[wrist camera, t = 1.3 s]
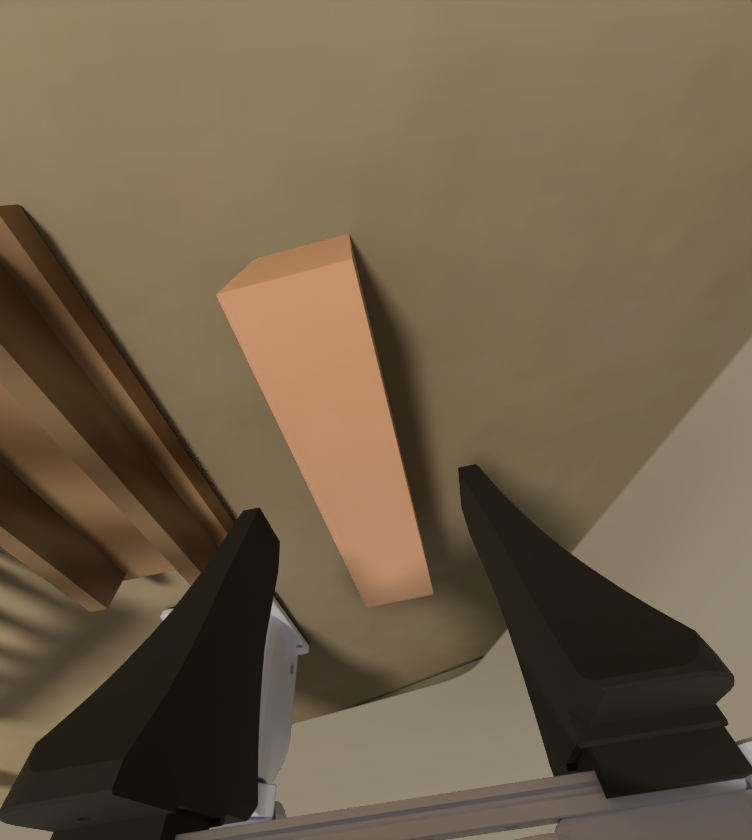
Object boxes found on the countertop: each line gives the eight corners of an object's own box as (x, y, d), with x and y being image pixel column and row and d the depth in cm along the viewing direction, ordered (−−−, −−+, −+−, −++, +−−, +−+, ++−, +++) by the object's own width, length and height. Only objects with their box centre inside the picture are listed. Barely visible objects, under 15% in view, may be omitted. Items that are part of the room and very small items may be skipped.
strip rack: (247, 542, 21) (235, 589, 19) (109, 569, 22) (79, 619, 19) (19, 204, 11) (-73, 211, 9) (-235, 268, 12) (-391, 292, 9)
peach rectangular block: (416, 515, 22) (433, 594, 18) (361, 527, 22) (366, 607, 18) (349, 232, 13) (352, 258, 8) (256, 257, 13) (215, 294, 9)
